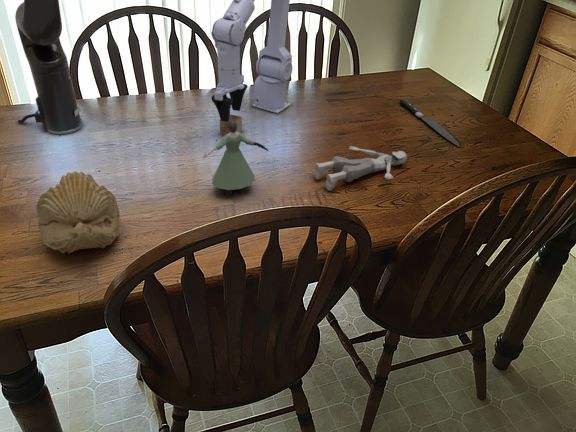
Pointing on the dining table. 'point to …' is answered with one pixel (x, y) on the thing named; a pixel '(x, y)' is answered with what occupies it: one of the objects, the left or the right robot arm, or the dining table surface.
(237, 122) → the brown cube-like block
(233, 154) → the character figurine
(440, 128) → the knife
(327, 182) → the figurine
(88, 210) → the fossil
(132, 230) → the dining table surface
